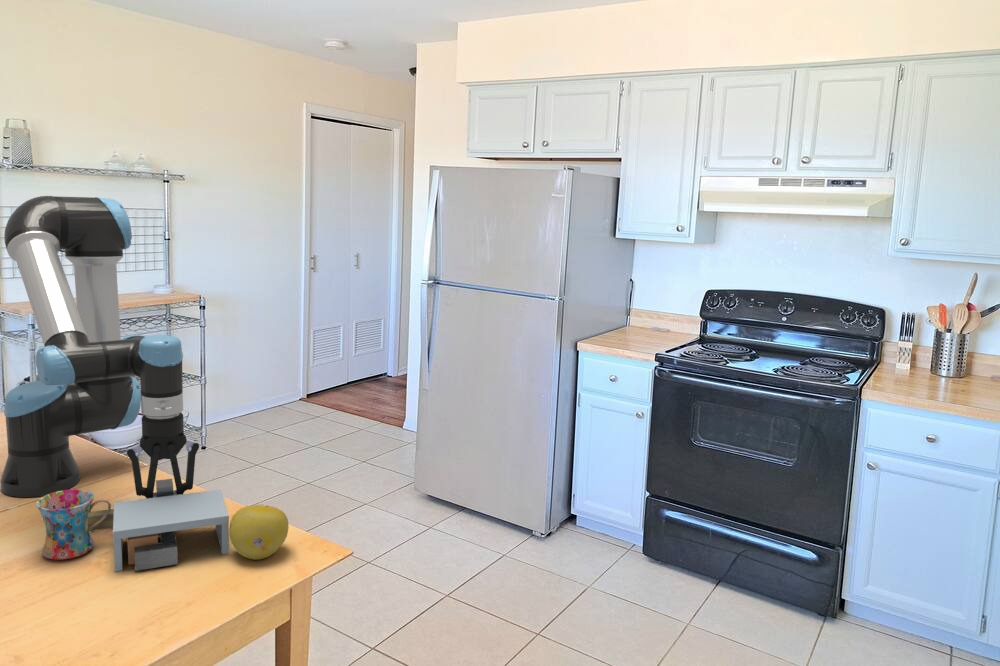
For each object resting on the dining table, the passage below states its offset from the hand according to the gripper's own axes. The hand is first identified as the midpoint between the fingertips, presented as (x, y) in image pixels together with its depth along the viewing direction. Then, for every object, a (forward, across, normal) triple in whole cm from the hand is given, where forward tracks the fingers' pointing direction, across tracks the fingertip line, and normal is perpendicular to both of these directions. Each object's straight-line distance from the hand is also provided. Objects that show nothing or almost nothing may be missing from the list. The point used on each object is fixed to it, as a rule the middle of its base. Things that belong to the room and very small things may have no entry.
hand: (165, 523), depth 148 cm
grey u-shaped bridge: (+1, +1, -10) cm, 10 cm away
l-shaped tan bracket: (+1, -13, +4) cm, 14 cm away
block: (+1, -4, -11) cm, 12 cm away
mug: (+1, -16, -5) cm, 16 cm away
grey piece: (0, -2, -8) cm, 8 cm away
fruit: (+1, +16, -18) cm, 24 cm away
